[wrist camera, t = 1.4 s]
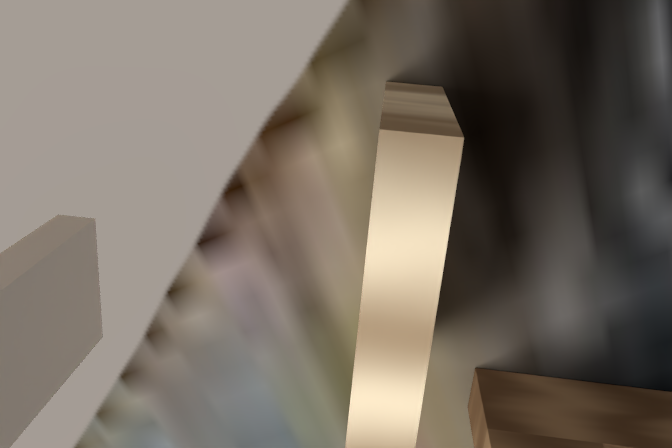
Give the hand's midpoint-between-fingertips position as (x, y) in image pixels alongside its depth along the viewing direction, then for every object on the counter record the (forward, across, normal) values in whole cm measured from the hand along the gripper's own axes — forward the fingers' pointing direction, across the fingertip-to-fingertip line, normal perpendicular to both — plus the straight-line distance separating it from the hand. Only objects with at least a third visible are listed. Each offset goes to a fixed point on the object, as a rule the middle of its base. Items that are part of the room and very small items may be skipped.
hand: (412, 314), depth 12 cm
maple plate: (+17, 0, -4) cm, 18 cm away
